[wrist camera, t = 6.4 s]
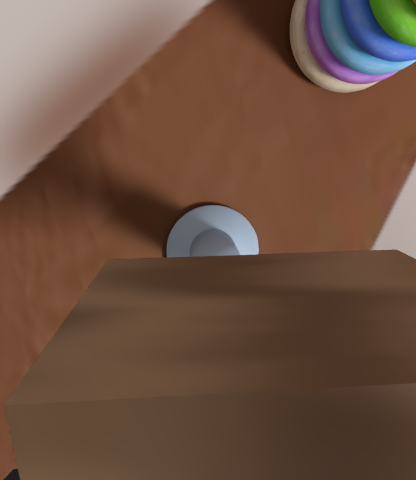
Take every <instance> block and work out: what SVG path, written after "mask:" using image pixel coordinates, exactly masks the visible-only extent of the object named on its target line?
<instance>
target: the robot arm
mask: <svg viewBox="0 0 416 480" xmlns="http://www.w3.org/2000/svg"><path fill="white" fill-rule="evenodd" d="M4 480H20V477H19V472H18V469H13V470H12V471H11V472H10V474H9V475H8V476H7V477H6V478H5V479H4Z"/></svg>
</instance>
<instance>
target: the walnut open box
mask: <svg viewBox="0 0 416 480" xmlns="http://www.w3.org/2000/svg"><path fill="white" fill-rule="evenodd" d="M4 407H5V412H6V417H7V421H8V426H9V431H10V435H11V440H12V444H13V449H14V454H15V458H16V463H17V468H18V472H19V477H20V480H416V259H414V258H412V257H410V256H408V255H406V254H404V253H402V252H400V251H398V250H372V251H343V252H314V253H285V254H256V255H226V256H197V257H168V258H139V259H110V260H108V261H107V262H106V264H105V265H104V266H103V268H102V269H101V271H100V272H99V273H98V275H97V276H96V278H95V279H94V280H93V282H92V283H91V285H90V286H89V287H88V289H87V290H86V292H85V293H84V294H83V296H82V297H81V299H80V300H79V301H78V303H77V304H76V305H75V307H74V308H73V310H72V311H71V312H70V314H69V315H68V317H67V318H66V319H65V321H64V322H63V324H62V325H61V326H60V328H59V329H58V331H57V332H56V333H55V335H54V336H53V338H52V339H51V340H50V342H49V343H48V345H47V346H46V347H45V349H44V350H43V352H42V353H41V354H40V356H39V357H38V359H37V360H36V361H35V363H34V364H33V366H32V367H31V368H30V370H29V371H28V373H27V374H26V375H25V377H24V378H23V379H22V381H21V382H20V384H19V385H18V386H17V388H16V389H15V391H14V392H13V393H12V395H11V396H10V398H9V399H8V400H7V402H6V403H5V405H4Z"/></svg>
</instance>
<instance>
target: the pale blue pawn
mask: <svg viewBox="0 0 416 480" xmlns="http://www.w3.org/2000/svg"><path fill="white" fill-rule="evenodd" d="M258 251H259V248H258V239H257V236H256V233H255V231H254V229H253V227H252V226H251V224H250V223H249V222H248V220H247V219H246V218H245V217H244V216H243V215H241V214H240V213H239V212H237V211H235V210H233V209H231V208H229V207H225V206H221V205H205V206H201V207H198V208H195V209H193V210H191V211H189V212H187V213H186V214H185V215H183V216H182V217H181V218H180V219H179V220H178V221H177V222H176V224H175V225H174V227H173V228H172V230H171V232H170V234H169V238H168V242H167V258H168V257H197V256H226V255H256V254H258Z"/></svg>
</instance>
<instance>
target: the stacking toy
mask: <svg viewBox="0 0 416 480" xmlns="http://www.w3.org/2000/svg"><path fill="white" fill-rule="evenodd" d="M290 42H291V48H292V51H293V55H294V57H295V60H296V62H297V64H298V66H299V67H300V69H301V70H302V72H303V73H304V74H305V75H306V76H307V77H308V78H309V79H310V80H311V81H312V82H313V83H315V84H316V85H318V86H320V87H322V88H324V89H326V90H330V91H334V92H354V91H359V90H362V89H365V88H368V87H370V86H372V85H374V84H376V83H377V82H379V81H381V80H383V79H386V78H388V77H390V76H392V75H393V74H395V73H396V72H398V71H399V70H401V69H403V68H405V67H407V66H409V65H411V64H412V63H414V62H415V61H416V0H295V3H294V6H293V9H292V14H291V20H290Z"/></svg>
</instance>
